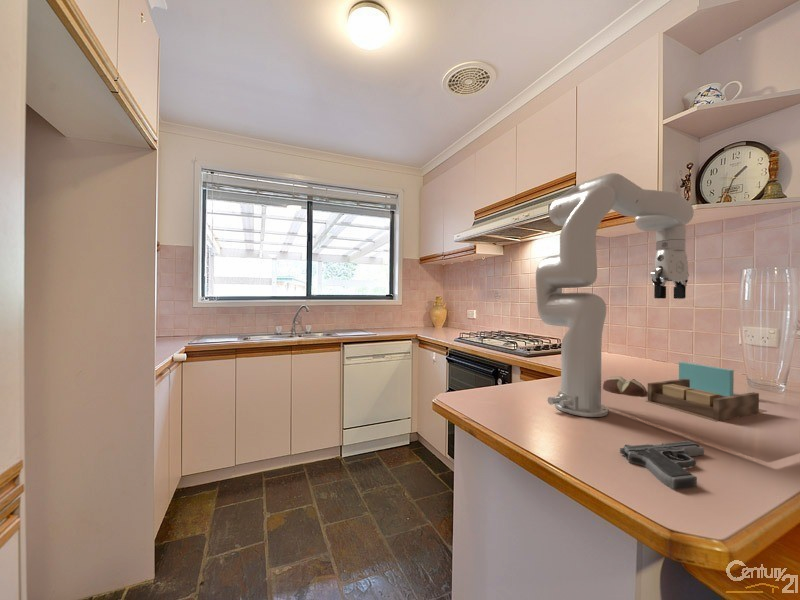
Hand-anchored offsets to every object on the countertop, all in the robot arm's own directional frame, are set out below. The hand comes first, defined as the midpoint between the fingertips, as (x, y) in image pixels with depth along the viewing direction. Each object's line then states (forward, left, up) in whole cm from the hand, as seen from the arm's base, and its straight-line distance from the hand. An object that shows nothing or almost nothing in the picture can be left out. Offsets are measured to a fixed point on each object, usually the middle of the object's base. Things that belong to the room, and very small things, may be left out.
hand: (669, 298), depth 107 cm
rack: (-13, -16, -30) cm, 37 cm away
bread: (-19, +2, -31) cm, 36 cm away
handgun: (-54, -33, -31) cm, 70 cm away
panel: (+5, -1, -26) cm, 26 cm away
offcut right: (-19, -19, -29) cm, 40 cm away
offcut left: (-19, -13, -29) cm, 37 cm away
